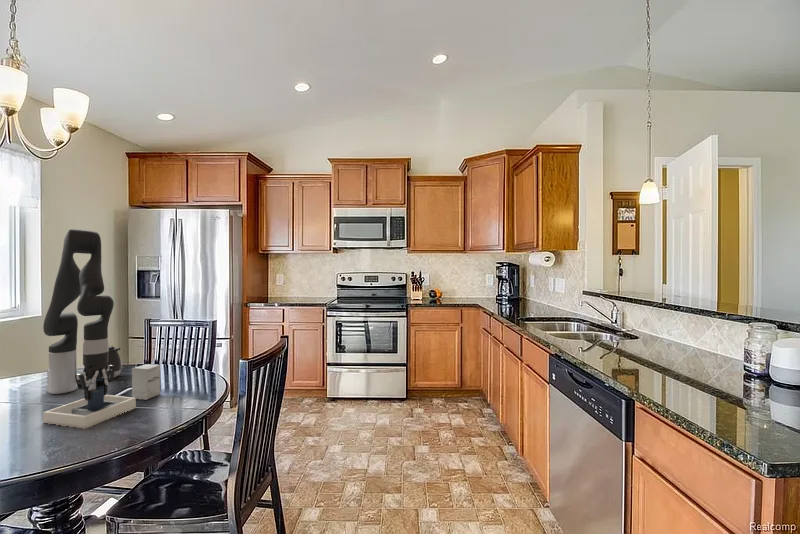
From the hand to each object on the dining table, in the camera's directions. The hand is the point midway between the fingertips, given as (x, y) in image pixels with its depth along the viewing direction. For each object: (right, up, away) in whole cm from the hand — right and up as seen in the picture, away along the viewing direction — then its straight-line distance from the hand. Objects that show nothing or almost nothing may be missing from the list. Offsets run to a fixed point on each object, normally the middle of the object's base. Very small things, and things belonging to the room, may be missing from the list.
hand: (96, 397), depth 150 cm
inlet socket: (0, -7, 0) cm, 7 cm away
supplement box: (+5, -7, +21) cm, 23 cm away
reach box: (-2, -7, +1) cm, 7 cm away
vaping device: (0, -5, 0) cm, 5 cm away
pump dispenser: (-29, -6, +48) cm, 56 cm away
